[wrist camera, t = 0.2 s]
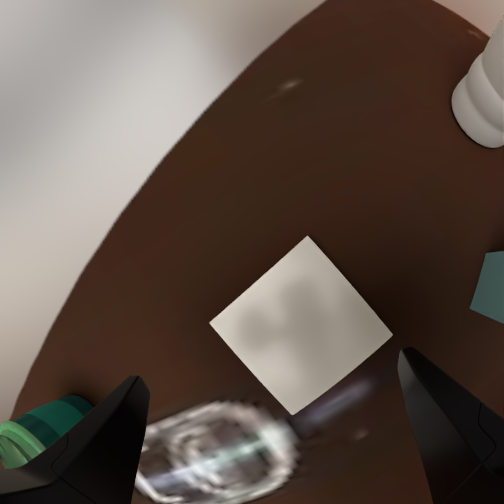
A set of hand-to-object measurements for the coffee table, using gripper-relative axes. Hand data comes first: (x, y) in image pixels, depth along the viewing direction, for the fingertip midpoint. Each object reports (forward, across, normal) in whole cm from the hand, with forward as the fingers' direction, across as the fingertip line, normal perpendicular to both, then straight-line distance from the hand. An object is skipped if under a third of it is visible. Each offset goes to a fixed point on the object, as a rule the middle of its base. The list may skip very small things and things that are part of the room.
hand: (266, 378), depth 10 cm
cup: (+8, +22, +17) cm, 29 cm away
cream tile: (+12, -1, +8) cm, 15 cm away
